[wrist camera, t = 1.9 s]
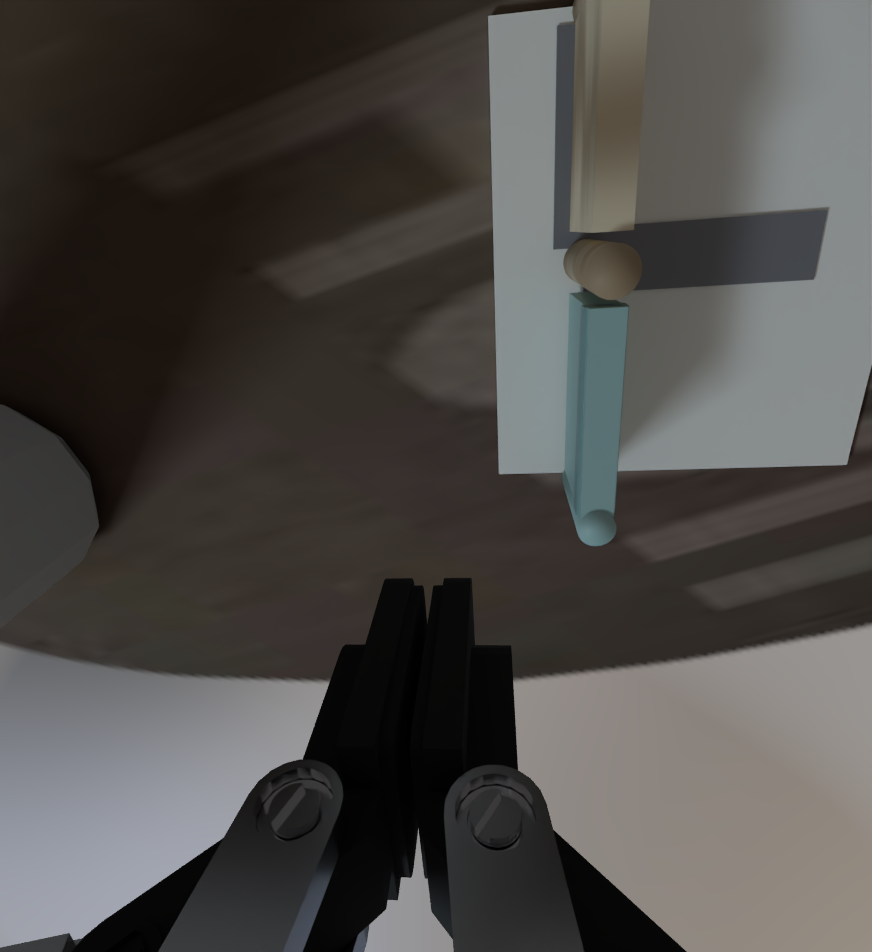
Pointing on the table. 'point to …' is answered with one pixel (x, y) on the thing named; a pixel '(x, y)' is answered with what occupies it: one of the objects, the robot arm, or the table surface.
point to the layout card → (697, 235)
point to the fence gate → (594, 412)
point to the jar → (39, 511)
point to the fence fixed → (606, 141)
